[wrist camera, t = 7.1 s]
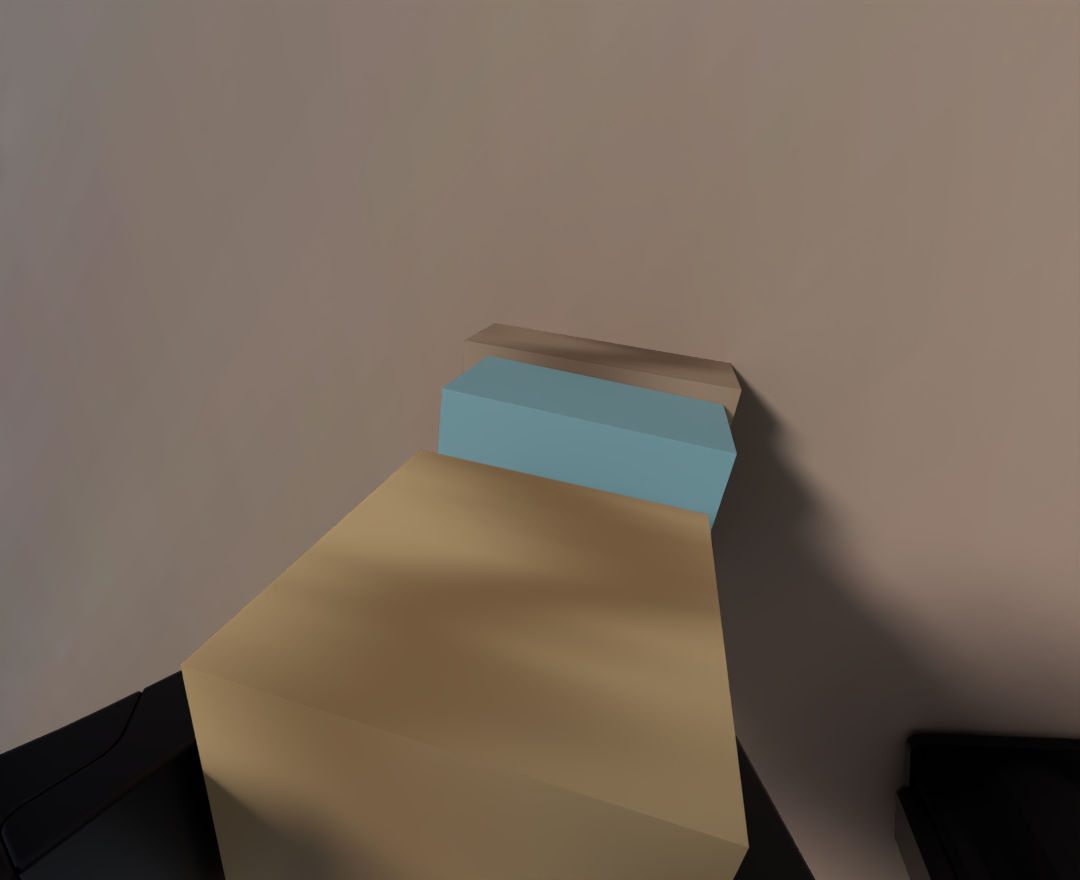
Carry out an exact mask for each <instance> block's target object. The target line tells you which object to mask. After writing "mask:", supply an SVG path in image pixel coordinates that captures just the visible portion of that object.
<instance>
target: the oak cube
mask: <svg viewBox="0 0 1080 880" xmlns="http://www.w3.org/2000/svg"><path fill="white" fill-rule="evenodd" d="M181 670H182V675H183V680H184V684H185V689H186V694H187V699H188V703H189V708H190V713H191V718H192V722H193V727H194V732H195V737H196V741H197V746H198V751H199V756H200V760H201V765H202V770H203V775H204V779H205V784H206V789H207V794H208V798H209V803H210V808H211V813H212V817H213V822H214V827H215V832H216V836H217V841H218V846H219V851H220V855H221V860H222V865H223V870H224V875H225V879H226V880H733V879H734V877H735V875H736V873H737V871H738V869H739V867H740V865H741V863H742V861H743V858H744V856H745V854H746V852H747V850H748V848H749V844H748V836H747V828H746V820H745V812H744V803H743V795H742V787H741V779H740V771H739V763H738V754H737V746H736V738H735V730H734V722H733V713H732V705H731V697H730V689H729V681H728V673H727V664H726V656H725V648H724V640H723V632H722V623H721V615H720V607H719V599H718V591H717V582H716V574H715V566H714V558H713V550H712V542H711V533H710V525H709V517H708V514H704V513H699V512H695V511H690V510H686V509H682V508H677V507H673V506H668V505H664V504H659V503H655V502H651V501H646V500H642V499H637V498H633V497H628V496H624V495H620V494H615V493H611V492H606V491H602V490H598V489H593V488H589V487H584V486H580V485H575V484H571V483H567V482H562V481H558V480H553V479H549V478H544V477H540V476H536V475H531V474H527V473H522V472H518V471H513V470H509V469H505V468H500V467H496V466H491V465H487V464H483V463H478V462H474V461H469V460H465V459H460V458H456V457H452V456H447V455H443V454H438V453H434V452H429V451H425V450H421V449H420V450H419V451H418V452H417V453H416V454H414V455H413V456H412V457H411V458H410V459H409V460H408V461H407V462H406V463H404V464H403V465H402V466H401V467H400V468H399V469H398V470H397V471H396V472H394V473H393V474H392V475H391V476H390V477H389V478H388V479H387V480H386V481H384V482H383V483H382V484H381V485H380V486H379V487H378V488H377V489H375V490H374V491H373V492H372V493H371V494H370V495H369V496H368V497H367V498H365V499H364V500H363V501H362V502H361V503H360V504H359V505H358V506H357V507H355V508H354V509H353V510H352V511H351V512H350V513H349V514H348V515H347V516H345V517H344V518H343V519H342V520H341V521H340V522H339V523H338V524H337V525H335V526H334V527H333V528H332V529H331V530H330V531H329V532H328V533H327V534H325V535H324V536H323V537H322V538H321V539H320V540H319V541H318V542H317V543H315V544H314V545H313V546H312V547H311V548H310V549H309V550H308V551H307V552H305V553H304V554H303V555H302V556H301V557H300V558H299V559H298V560H297V561H295V562H294V563H293V564H292V565H291V566H290V567H289V568H288V569H287V570H285V571H284V572H283V573H282V574H281V575H280V576H279V577H278V578H276V579H275V580H274V581H273V582H272V583H271V584H270V585H269V586H268V587H266V588H265V589H264V590H263V591H262V592H261V593H260V594H259V595H258V596H256V597H255V598H254V599H253V600H252V601H251V602H250V603H249V604H248V605H246V606H245V607H244V608H243V609H242V610H241V611H240V612H239V613H238V614H236V615H235V616H234V617H233V618H232V619H231V620H230V621H229V622H228V623H226V624H225V625H224V626H223V627H222V628H221V629H220V630H219V631H218V632H216V633H215V634H214V635H213V636H212V637H211V638H210V639H209V640H208V641H206V642H205V643H204V644H203V645H202V646H201V647H200V648H199V649H198V650H196V651H195V652H194V653H193V654H192V655H191V656H190V657H189V658H187V659H186V660H185V661H184V662H183V663H182V664H181Z"/></svg>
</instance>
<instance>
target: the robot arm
mask: <svg viewBox="0 0 1080 880" xmlns="http://www.w3.org/2000/svg"><path fill="white" fill-rule="evenodd" d="M735 738H736V746H737V754H738V763H739V771H740V779H741V787H742V795H743V803H744V812H745V820H746V828H747V836H748V844H749V848H748V850H747V852H746V854H745V856H744V858H743V861H742V863H741V865H740V867H739V869H738V871H737V873H736V875H735V877H734V879H733V880H815V878H814V876H813V874H812V873H811V871H810V869H809V867H808V865H807V864H806V862H805V860H804V858H803V856H802V854H801V853H800V851H799V849H798V847H797V845H796V844H795V842H794V840H793V838H792V836H791V835H790V833H789V831H788V829H787V827H786V825H785V824H784V822H783V820H782V818H781V816H780V815H779V813H778V811H777V809H776V807H775V805H774V804H773V802H772V800H771V798H770V796H769V795H768V793H767V791H766V789H765V787H764V785H763V784H762V782H761V780H760V778H759V776H758V775H757V773H756V771H755V769H754V767H753V765H752V764H751V762H750V760H749V758H748V756H747V755H746V753H745V751H744V749H743V747H742V745H741V744H740V742H739V740H738V738H737V736H736V735H735ZM895 838H896V841H897V844H898V847H899V849H900V852H901V855H902V858H903V860H904V863H905V866H906V869H907V872H908V874H909V877H910V880H1080V739H1058V738H1033V737H1007V736H982V735H957V734H931V733H919V734H914V735H912V736H910V737H909V738H908V739H907V740H906V745H905V783H904V786H900V787H899V789H898V790H897V792H896V814H895ZM0 880H226V879H225V875H224V870H223V865H222V860H221V855H220V851H219V846H218V841H217V836H216V832H215V827H214V822H213V817H212V813H211V808H210V803H209V798H208V794H207V789H206V784H205V779H204V775H203V770H202V765H201V760H200V756H199V751H198V746H197V741H196V737H195V732H194V727H193V722H192V718H191V713H190V708H189V703H188V699H187V694H186V689H185V684H184V680H183V675H182V670H181V671H179V672H176V673H174V674H172V675H170V676H168V677H166V678H164V679H162V680H160V681H158V682H156V683H154V684H152V685H150V686H148V687H146V688H145V689H144V690H143V692H140V691H138V692H135V693H133V694H131V695H129V696H127V697H125V698H123V699H121V700H119V701H117V702H115V703H113V704H111V705H109V706H107V707H105V708H102V709H100V710H98V711H96V712H94V713H92V714H90V715H88V716H86V717H83V718H81V719H79V720H77V721H75V722H73V723H71V724H69V725H66V726H64V727H62V728H60V729H58V730H55V731H53V732H51V733H48V734H46V735H44V736H42V737H39V738H37V739H35V740H32V741H30V742H28V743H25V744H23V745H21V746H19V747H16V748H14V749H12V750H9V751H7V752H5V753H2V754H0Z"/></svg>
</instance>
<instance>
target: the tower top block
mask: <svg viewBox="0 0 1080 880" xmlns="http://www.w3.org/2000/svg"><path fill="white" fill-rule="evenodd" d="M438 454H443V455H447V456H452V457H456V458H460V459H465V460H469V461H474V462H478V463H483V464H487V465H491V466H496V467H500V468H505V469H509V470H513V471H518V472H522V473H527V474H531V475H536V476H540V477H544V478H549V479H553V480H558V481H562V482H567V483H571V484H575V485H580V486H584V487H589V488H593V489H598V490H602V491H606V492H611V493H615V494H620V495H624V496H628V497H633V498H637V499H642V500H646V501H651V502H655V503H659V504H664V505H668V506H673V507H677V508H682V509H686V510H690V511H695V512H699V513H704V514H708V517H709V525H710V532H711V529H712V527H713V524H714V521H715V518H716V515H717V512H718V509H719V506H720V503H721V500H722V497H723V494H724V491H725V488H726V485H727V482H728V479H729V476H730V473H731V470H732V467H733V464H734V461H735V458H736V455H737V453H736V449H735V445H734V442H733V438H732V435H731V431H730V427H729V424H728V420H727V416H726V413H725V409H724V405H722V404H717V403H713V402H708V401H703V400H698V399H694V398H689V397H684V396H679V395H675V394H670V393H665V392H660V391H656V390H651V389H646V388H641V387H637V386H632V385H627V384H622V383H617V382H613V381H608V380H603V379H598V378H594V377H589V376H584V375H579V374H575V373H570V372H565V371H560V370H556V369H551V368H546V367H541V366H537V365H532V364H527V363H522V362H517V361H513V360H508V359H503V358H498V357H494V356H489V355H488V356H487V357H485V358H484V359H482V360H481V361H480V362H478V363H477V364H476V365H474V366H473V367H471V368H470V369H469V370H467V371H466V372H464V373H463V374H462V375H460V376H459V377H457V378H456V379H455V380H453V381H452V382H450V383H449V384H448V385H446V386H445V387H443V388H442V401H441V415H440V428H439V442H438Z"/></svg>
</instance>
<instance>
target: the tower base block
mask: <svg viewBox="0 0 1080 880" xmlns="http://www.w3.org/2000/svg"><path fill="white" fill-rule="evenodd" d="M488 355H489V356H494V357H498V358H503V359H508V360H513V361H517V362H522V363H527V364H532V365H537V366H541V367H546V368H551V369H556V370H560V371H565V372H570V373H575V374H579V375H584V376H589V377H594V378H598V379H603V380H608V381H613V382H617V383H622V384H627V385H632V386H637V387H641V388H646V389H651V390H656V391H660V392H665V393H670V394H675V395H679V396H684V397H689V398H694V399H698V400H703V401H708V402H713V403H717V404H722V405H724V409H725V413H726V416H727V420H728V424H729V427H730V428H731V425H732V421H733V418H734V414H735V411H736V407H737V404H738V401H739V397H740V394H741V387H740V385H739V382H738V380H737V378H736V375H735V373H734V370H733V368H732V365H731V363H725V362H720V361H714V360H708V359H702V358H696V357H690V356H684V355H679V354H673V353H667V352H661V351H655V350H649V349H643V348H637V347H632V346H626V345H620V344H614V343H608V342H602V341H596V340H591V339H585V338H579V337H573V336H567V335H561V334H555V333H549V332H544V331H538V330H532V329H526V328H520V327H514V326H508V325H503V324H497V323H494V324H493V325H491V326H489V327H487V328H486V329H484V330H482V331H480V332H478V333H477V334H475V335H473V336H471V337H470V338H468V339H466V340H464V355H463V371H462V374H463V373H464V372H466V371H467V370H469V369H470V368H471V367H473V366H474V365H476V364H477V363H478V362H480V361H481V360H482V359H484V358H485V357H487V356H488Z"/></svg>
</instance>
